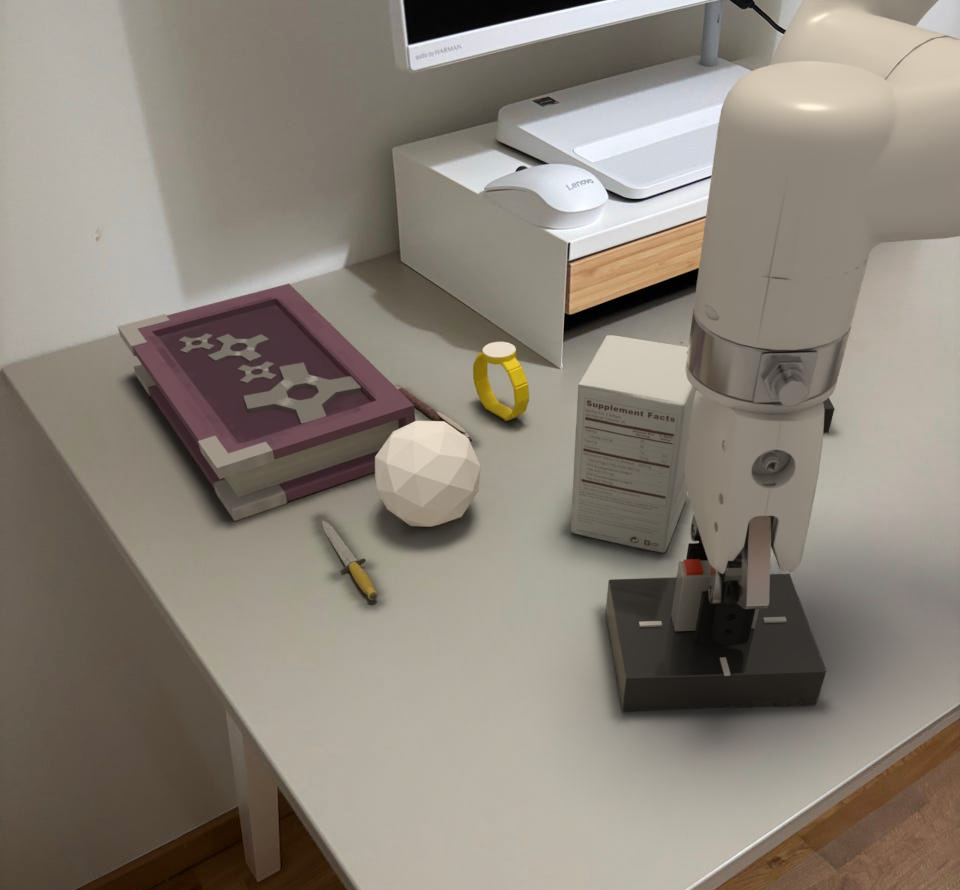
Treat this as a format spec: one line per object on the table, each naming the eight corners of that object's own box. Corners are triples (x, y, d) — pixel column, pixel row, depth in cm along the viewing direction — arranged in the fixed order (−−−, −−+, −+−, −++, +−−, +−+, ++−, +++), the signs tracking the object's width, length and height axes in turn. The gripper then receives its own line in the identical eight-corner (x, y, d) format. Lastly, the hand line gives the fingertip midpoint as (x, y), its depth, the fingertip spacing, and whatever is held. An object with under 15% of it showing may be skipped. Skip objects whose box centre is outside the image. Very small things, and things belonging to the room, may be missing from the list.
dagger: (308, 521, 77) (332, 509, 77) (312, 530, 77) (335, 518, 78) (359, 599, 69) (384, 585, 70) (363, 608, 70) (388, 595, 70)
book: (132, 377, 93) (117, 326, 89) (296, 331, 99) (288, 281, 95) (230, 523, 77) (216, 468, 74) (418, 458, 83) (414, 404, 79)
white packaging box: (595, 479, 80) (606, 330, 71) (688, 498, 78) (711, 348, 69) (566, 534, 75) (574, 382, 66) (665, 556, 73) (686, 402, 64)
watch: (535, 422, 86) (537, 358, 82) (510, 433, 85) (510, 369, 81) (492, 393, 90) (491, 330, 85) (467, 404, 88) (464, 341, 84)
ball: (435, 526, 81) (467, 428, 79) (476, 551, 74) (512, 445, 72) (347, 501, 77) (378, 398, 75) (382, 525, 70) (417, 413, 69)
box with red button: (749, 612, 64) (762, 554, 61) (754, 629, 63) (768, 570, 60) (670, 615, 64) (679, 557, 61) (674, 632, 63) (684, 574, 60)
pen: (475, 443, 84) (474, 433, 84) (467, 447, 84) (466, 436, 83) (398, 388, 91) (397, 378, 90) (390, 391, 91) (389, 382, 90)
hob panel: (781, 605, 69) (790, 570, 67) (817, 706, 63) (828, 670, 61) (605, 611, 69) (608, 576, 67) (622, 712, 63) (626, 677, 60)
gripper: (893, 438, 45) (807, 715, 58) (797, 272, 57) (744, 532, 70) (723, 444, 45) (675, 719, 58) (663, 277, 57) (634, 536, 69)
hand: (713, 615), depth 63 cm, fingers open, 3 cm apart
